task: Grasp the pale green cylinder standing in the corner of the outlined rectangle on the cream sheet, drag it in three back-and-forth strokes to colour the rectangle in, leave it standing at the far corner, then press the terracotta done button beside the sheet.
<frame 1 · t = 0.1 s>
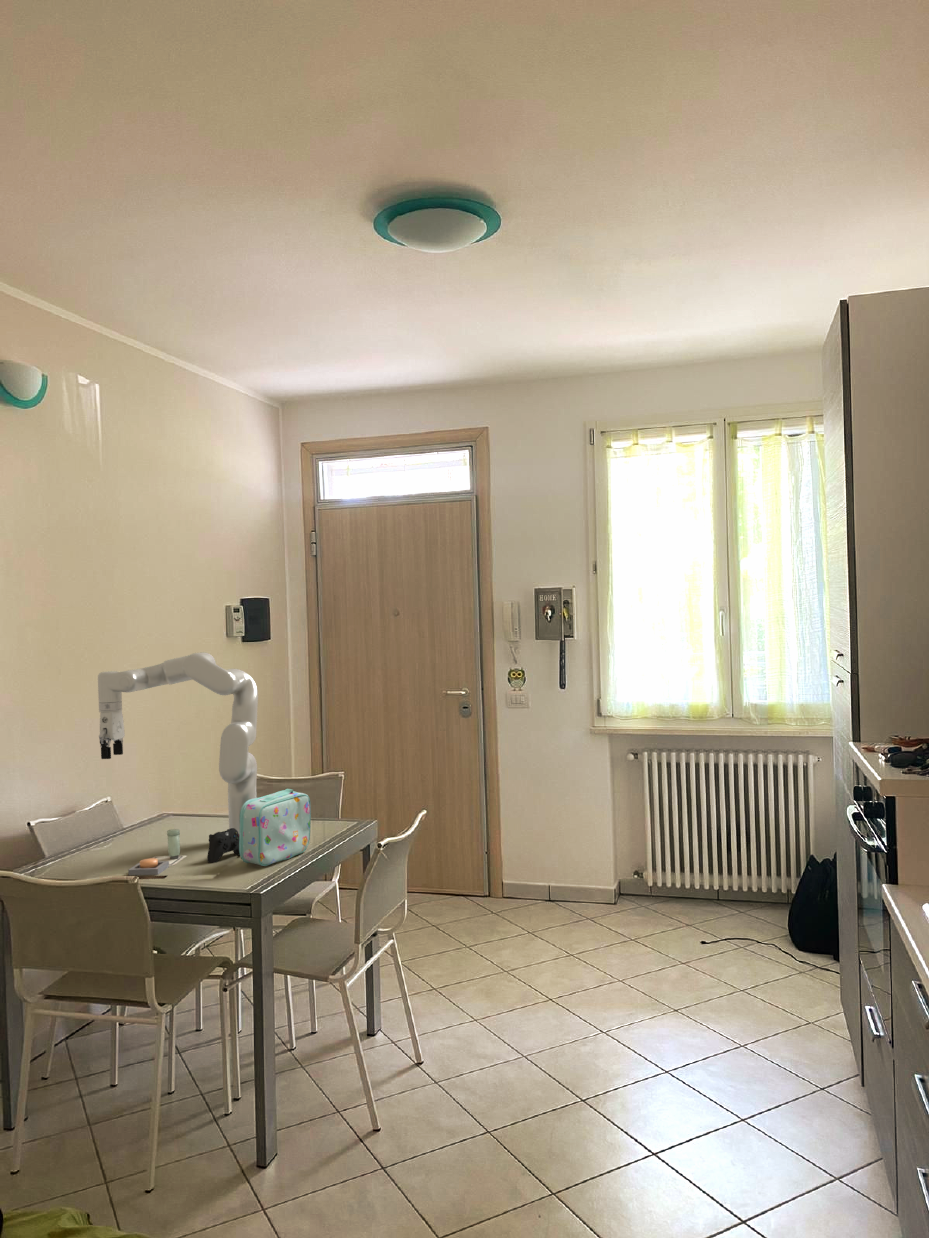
hand: (112, 756, 323), 31 cm above the table, tool pointing down, fingers open, 9 cm apart
button housing: (149, 874, 285), resting on drawing board
gaming controller: (226, 861, 298), on the table
done button: (148, 863, 285), point 3 cm above the table, slide at 0.0 cm
lunch box: (277, 859, 299), on the table
drawing board: (157, 868, 292), on the table
pale green cylinder: (174, 858, 299), point 1 cm above the table, touching drawing board
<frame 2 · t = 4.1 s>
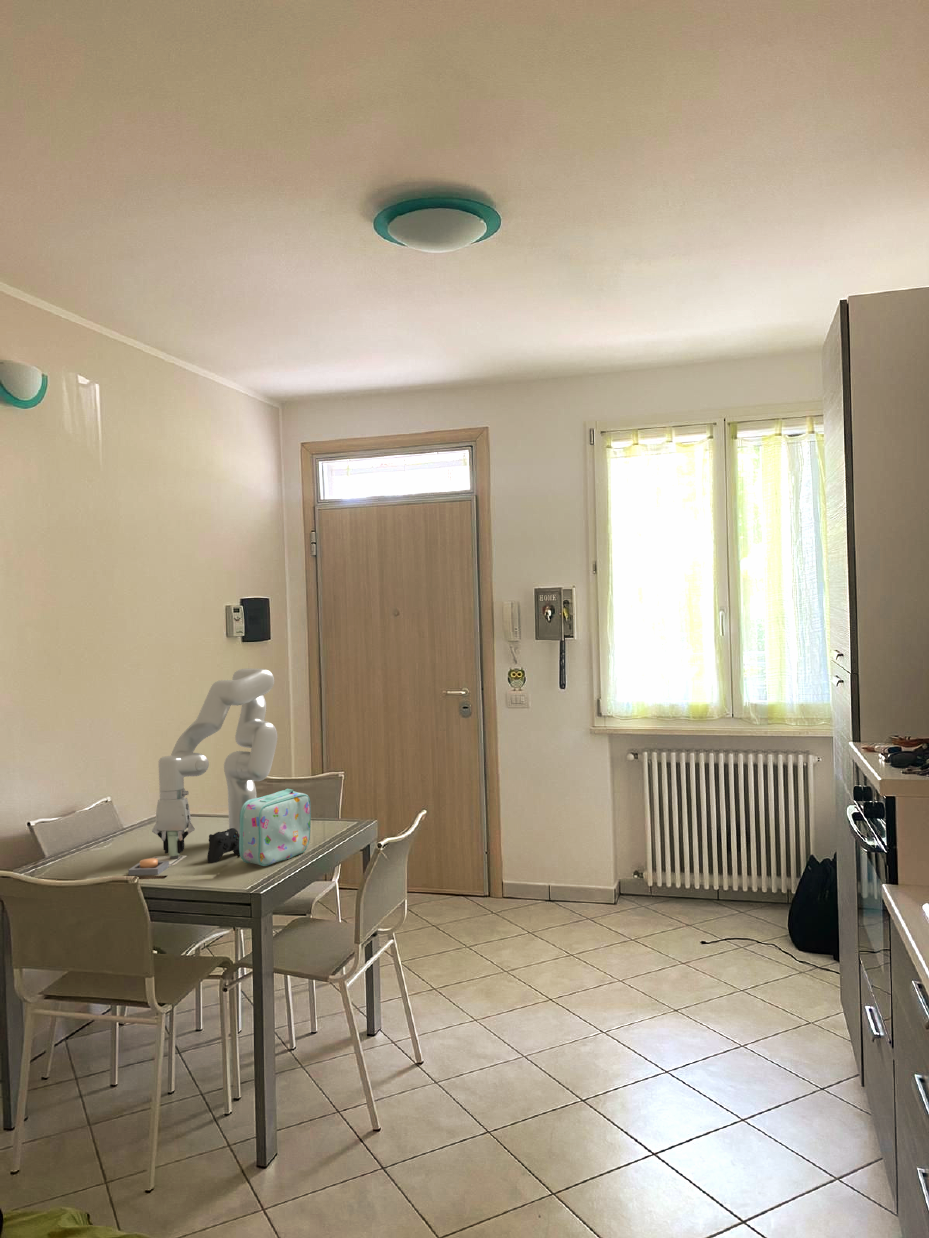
hand: (174, 851, 299), 3 cm above the table, tool pointing down, fingers closed on pale green cylinder, 3 cm apart
pale green cylinder: (174, 858, 299), point 1 cm above the table, touching drawing board, gripper
everything else where it was.
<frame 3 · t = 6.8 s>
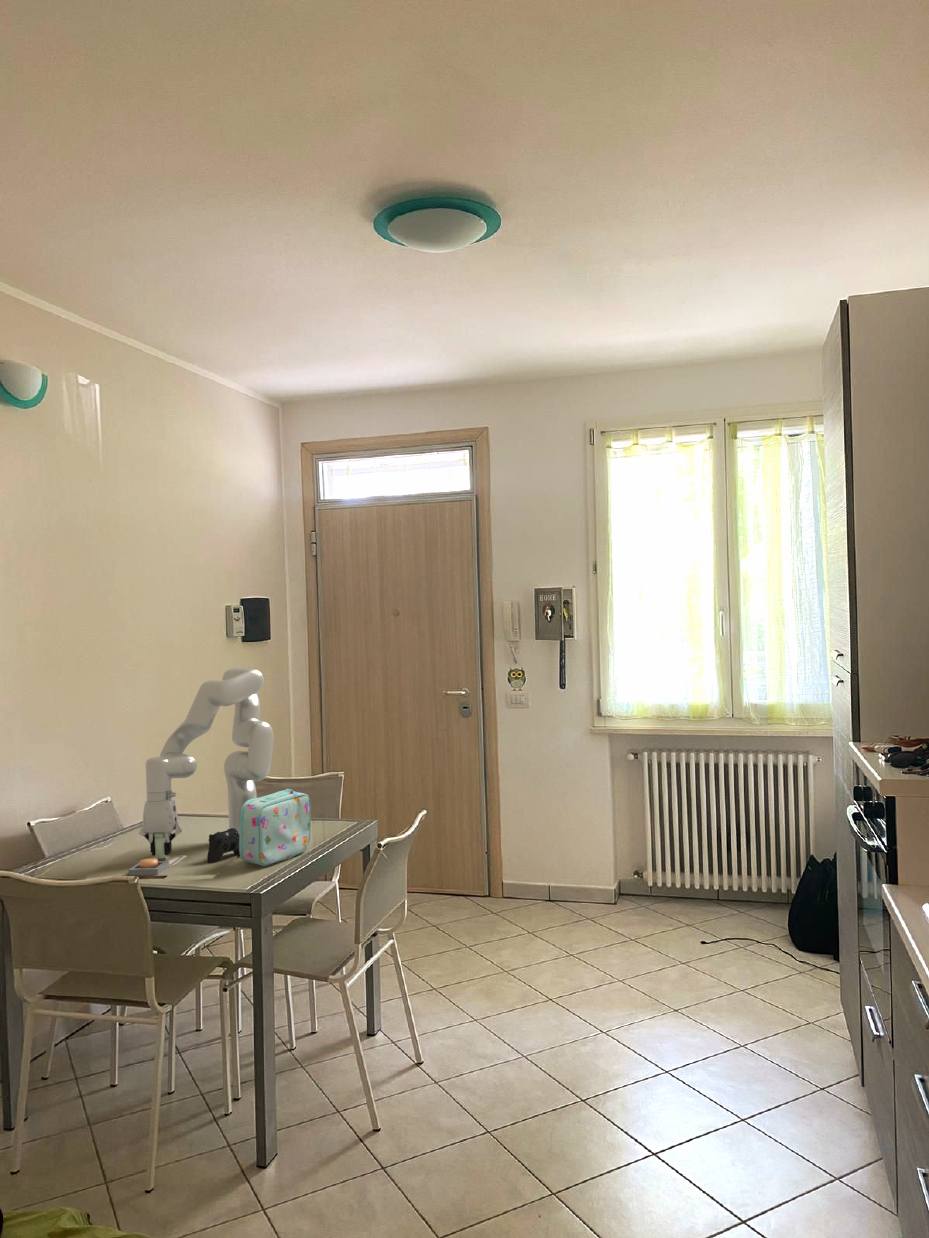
hand: (161, 853, 297), 3 cm above the table, tool pointing down, fingers closed on pale green cylinder, 3 cm apart
pale green cylinder: (161, 860, 297), point 1 cm above the table, touching gripper
everything else where it was.
when the fingers open (3 cm above the table, at t = 9.5 s): pale green cylinder stays where it is, resting on drawing board.
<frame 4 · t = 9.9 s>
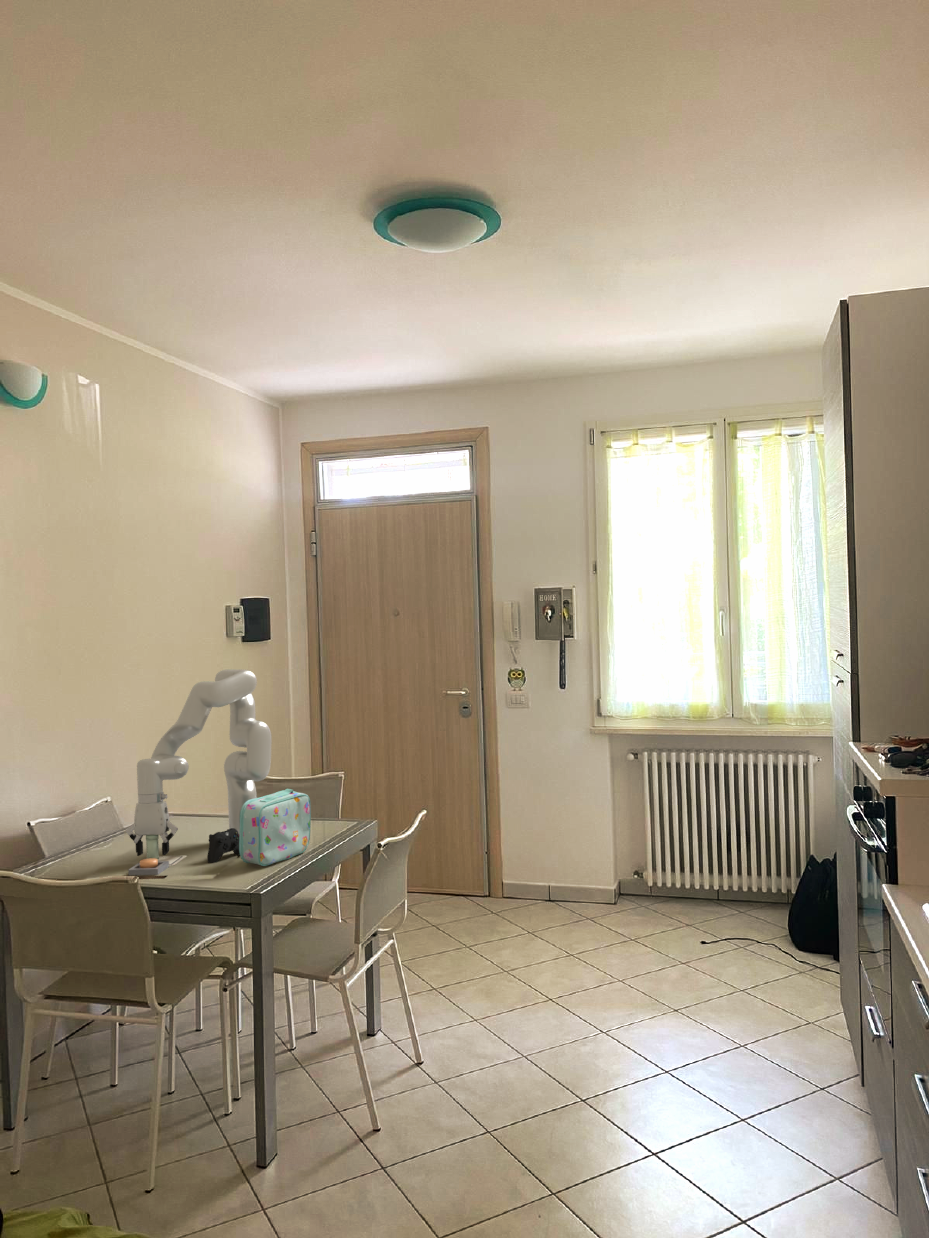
hand: (152, 854, 295), 4 cm above the table, tool pointing down, fingers open, 7 cm apart
pale green cylinder: (153, 862, 295), point 1 cm above the table, touching drawing board
everything else where it was.
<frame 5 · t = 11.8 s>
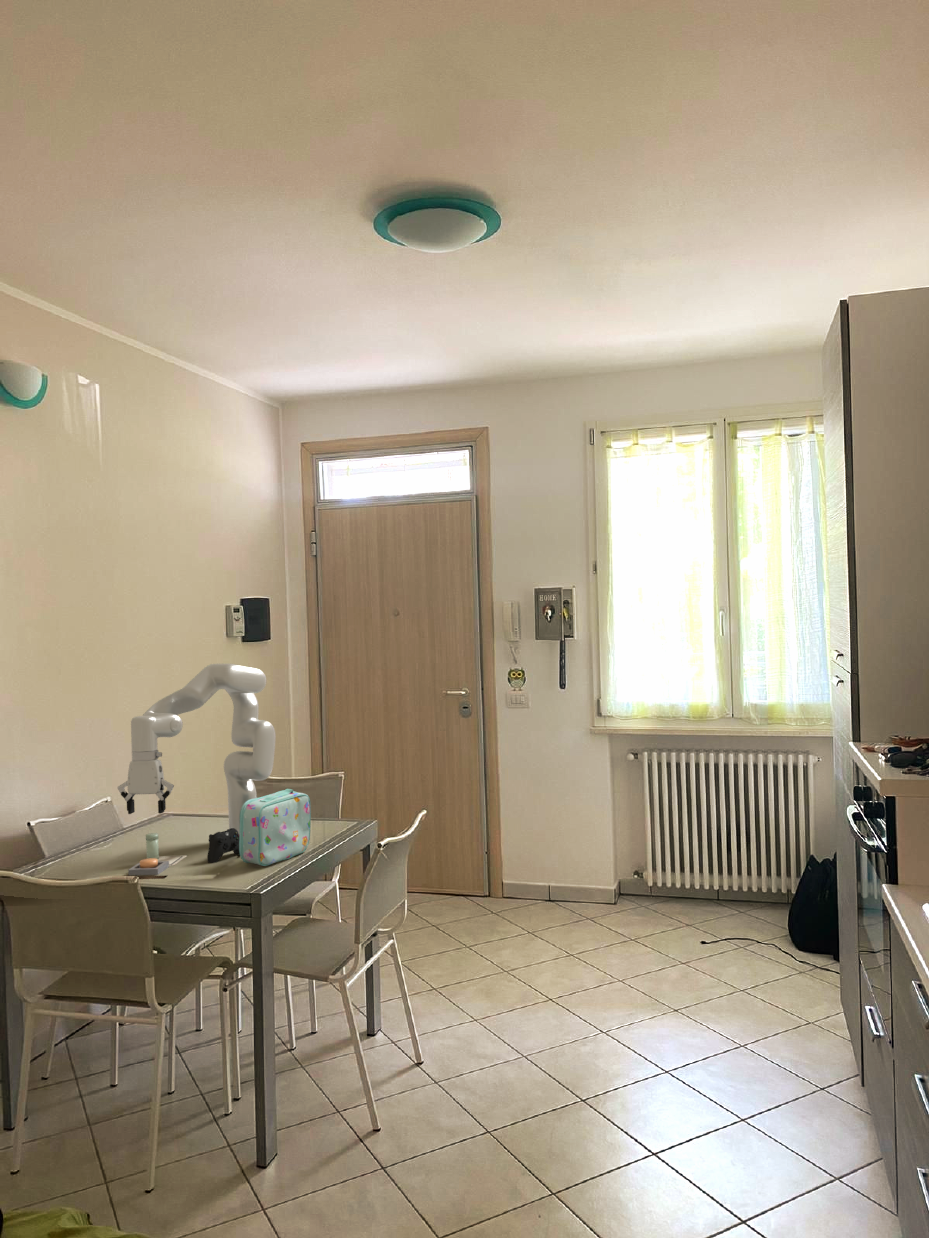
hand: (146, 812, 285), 19 cm above the table, tool pointing down, fingers open, 9 cm apart
nothing on the table moved.
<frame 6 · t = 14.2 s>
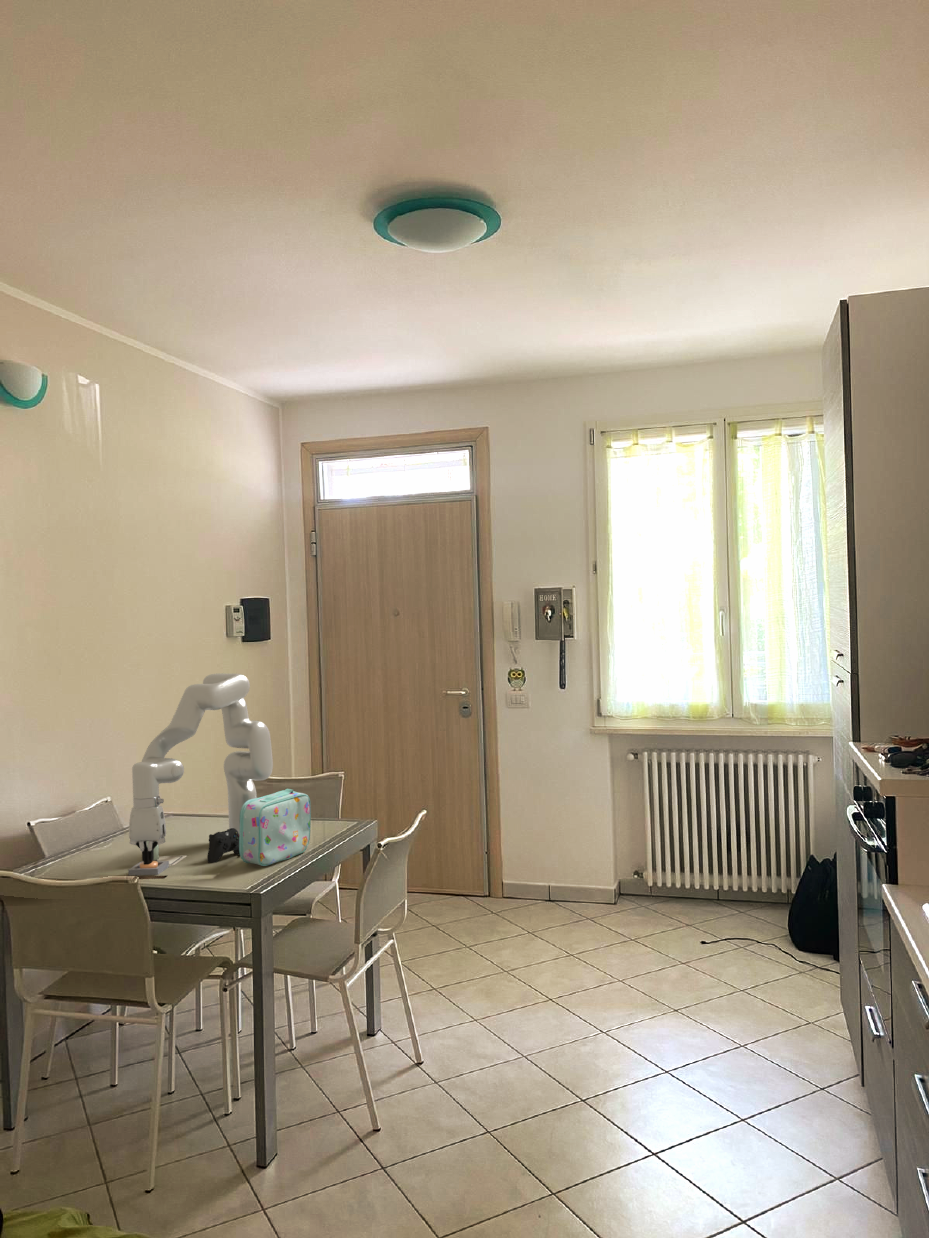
hand: (148, 863, 285), 4 cm above the table, tool pointing down, fingers closed
done button: (148, 866, 285), point 3 cm above the table, slide at 0.8 cm, touching gripper
everything else where it was.
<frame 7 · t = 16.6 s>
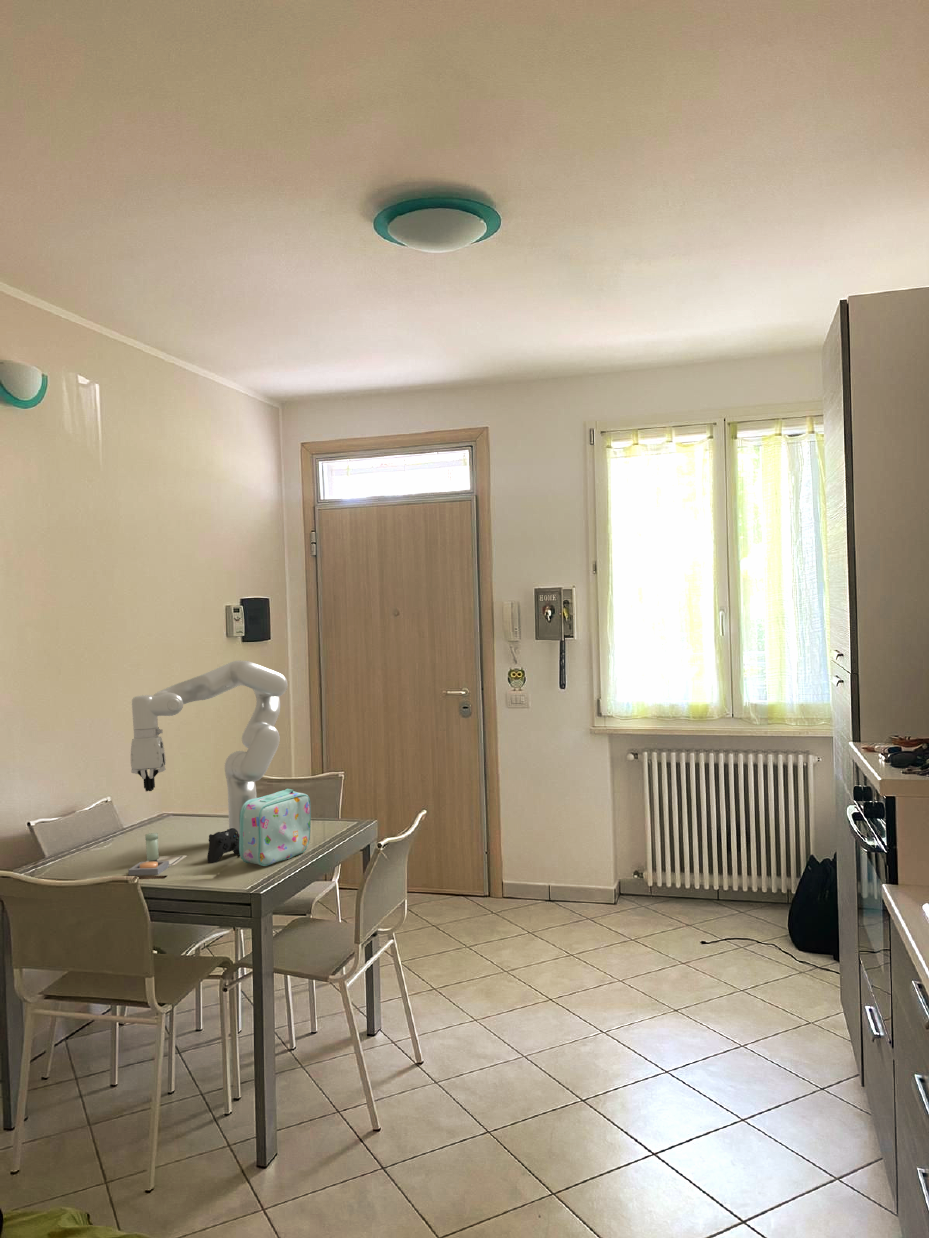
hand: (149, 790, 302), 23 cm above the table, tool pointing down, fingers closed
done button: (148, 866, 285), point 2 cm above the table, slide at 1.0 cm
everything else where it was.
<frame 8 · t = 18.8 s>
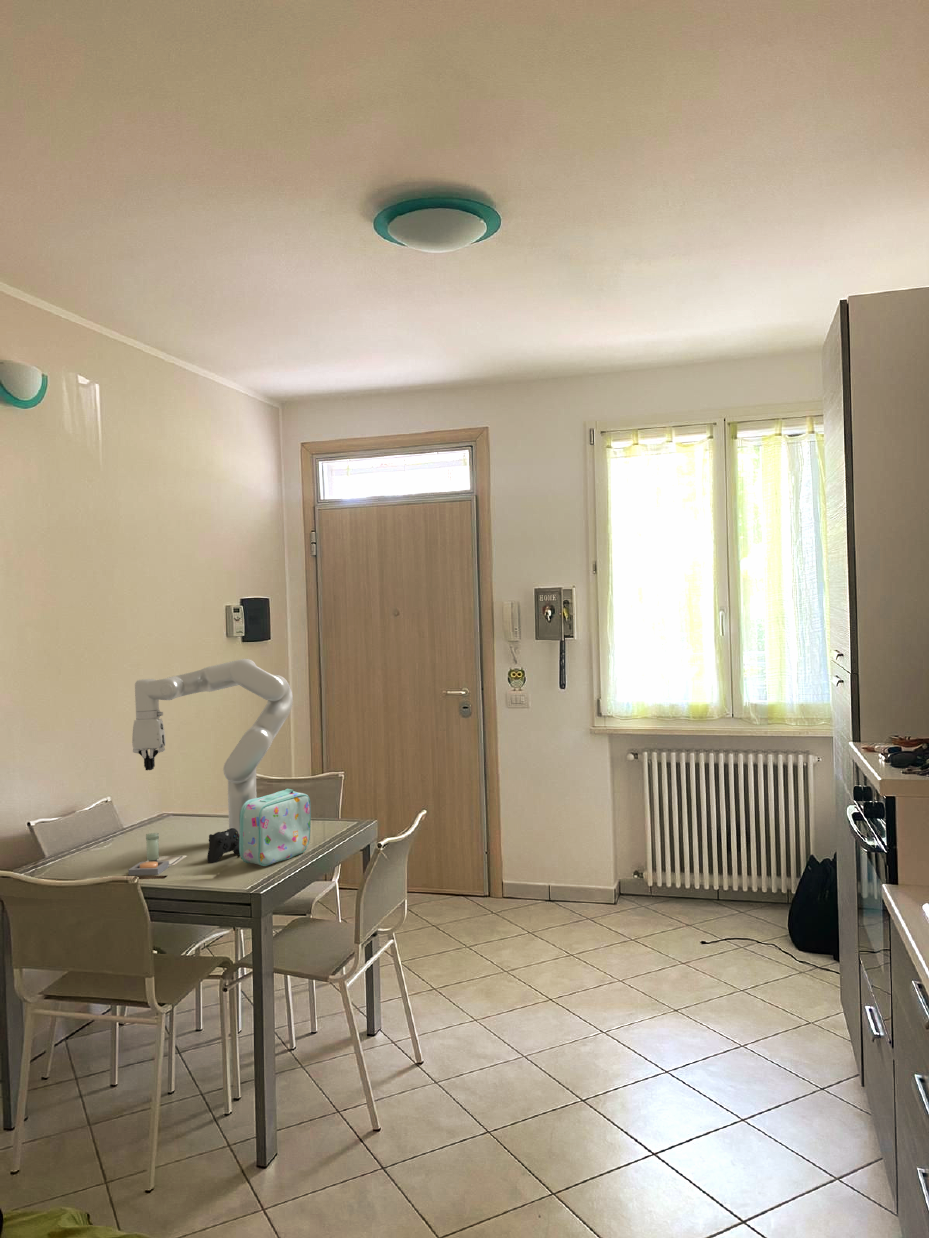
hand: (149, 769, 318), 27 cm above the table, tool pointing down, fingers closed
nothing on the table moved.
at the end: done button slide at 1.0 cm; pale green cylinder 0.4 cm from the target spot, point 1.1 cm above the table; pale green cylinder tilted 2° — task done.
